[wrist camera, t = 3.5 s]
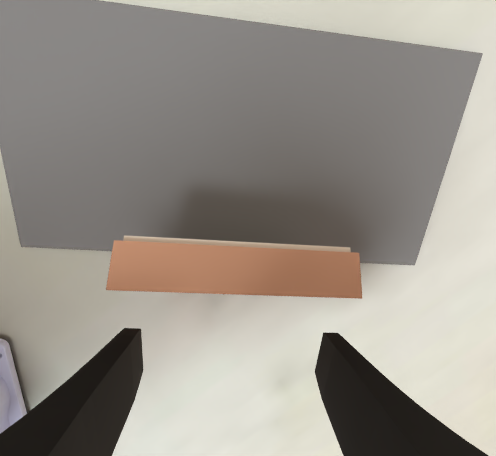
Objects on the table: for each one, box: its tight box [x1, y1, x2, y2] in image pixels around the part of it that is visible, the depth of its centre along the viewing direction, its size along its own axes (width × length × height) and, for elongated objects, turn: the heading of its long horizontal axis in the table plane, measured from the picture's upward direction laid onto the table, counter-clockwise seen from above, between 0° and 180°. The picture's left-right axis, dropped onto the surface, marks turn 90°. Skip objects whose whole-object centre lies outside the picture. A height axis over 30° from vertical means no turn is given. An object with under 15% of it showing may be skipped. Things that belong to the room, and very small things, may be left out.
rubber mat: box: [0, 0, 483, 265], centre depth 14 cm, size 12×24×1 cm, turn 85°
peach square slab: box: [106, 236, 362, 298], centre depth 12 cm, size 2×8×8 cm, turn 86°
